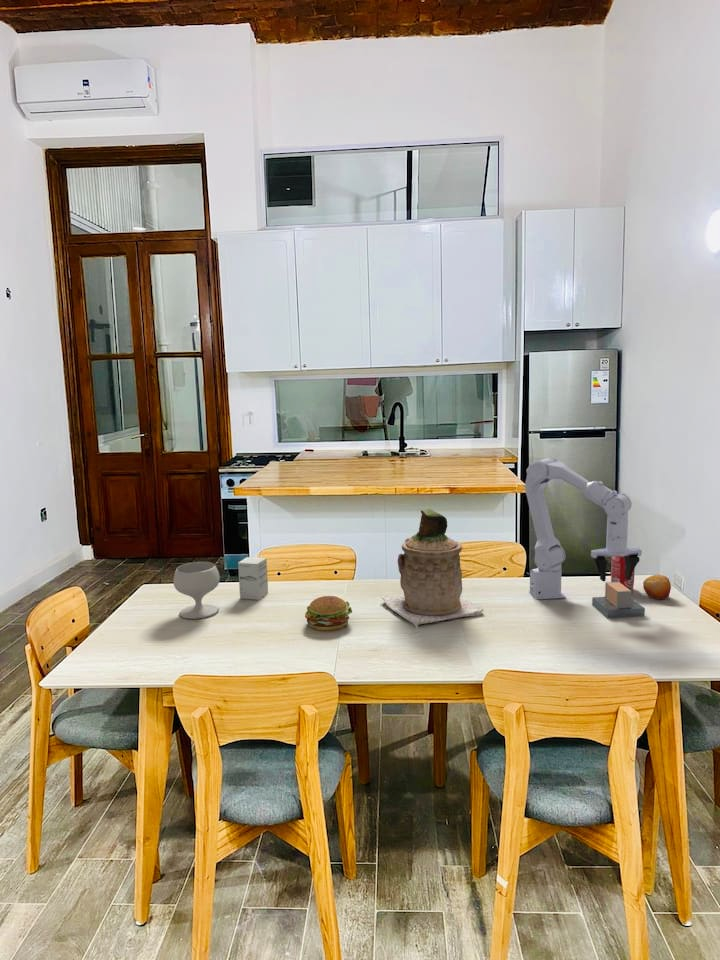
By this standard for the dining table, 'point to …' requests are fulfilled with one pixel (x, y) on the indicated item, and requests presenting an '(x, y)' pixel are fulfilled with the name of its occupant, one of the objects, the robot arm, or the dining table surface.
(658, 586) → the fruit
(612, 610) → the stand
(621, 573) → the soda can
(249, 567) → the supplement box
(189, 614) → the chalice
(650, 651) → the dining table surface
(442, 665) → the dining table surface
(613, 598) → the block
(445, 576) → the cookie jar
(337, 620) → the food
